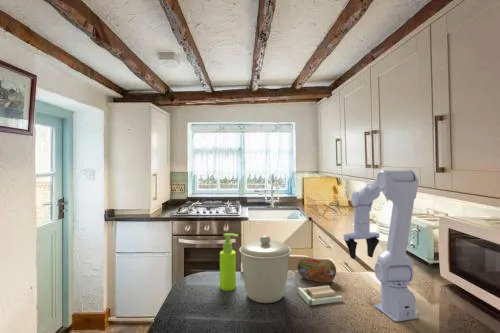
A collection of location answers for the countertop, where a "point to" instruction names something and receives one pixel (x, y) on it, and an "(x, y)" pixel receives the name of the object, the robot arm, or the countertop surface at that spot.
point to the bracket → (318, 300)
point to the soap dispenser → (228, 264)
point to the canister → (265, 269)
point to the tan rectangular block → (320, 292)
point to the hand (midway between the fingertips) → (361, 257)
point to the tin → (317, 269)
